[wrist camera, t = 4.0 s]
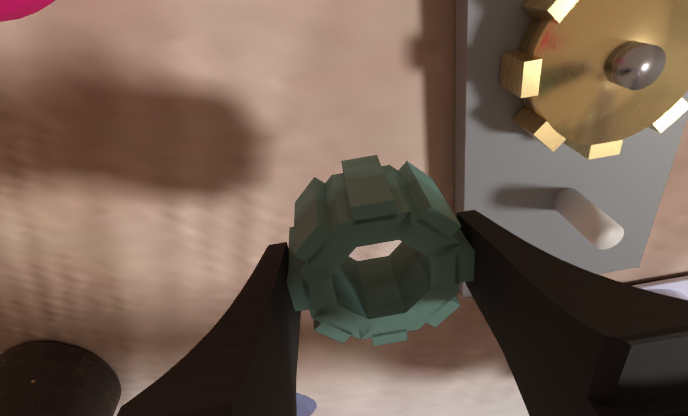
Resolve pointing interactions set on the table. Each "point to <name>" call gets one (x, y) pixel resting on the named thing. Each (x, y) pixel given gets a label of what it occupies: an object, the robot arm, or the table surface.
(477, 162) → the gear board
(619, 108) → the brass gear
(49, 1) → the pepper mill
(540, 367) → the robot arm
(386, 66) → the table surface
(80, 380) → the container
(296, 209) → the loose gear
